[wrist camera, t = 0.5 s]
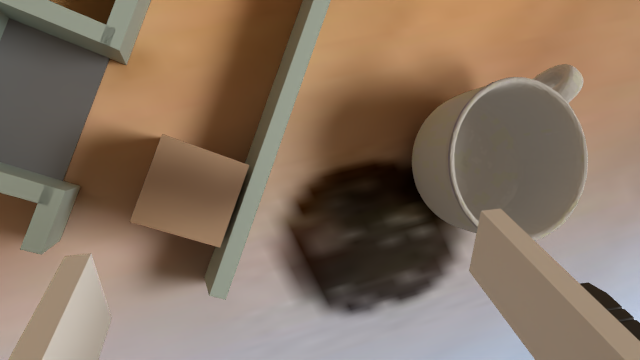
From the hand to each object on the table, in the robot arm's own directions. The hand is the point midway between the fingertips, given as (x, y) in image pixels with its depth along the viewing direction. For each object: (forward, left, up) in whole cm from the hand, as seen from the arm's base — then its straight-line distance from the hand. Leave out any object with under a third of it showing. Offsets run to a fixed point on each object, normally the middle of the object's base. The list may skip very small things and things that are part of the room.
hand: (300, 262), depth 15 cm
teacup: (+10, -16, -16) cm, 25 cm away
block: (0, +4, -16) cm, 16 cm away
